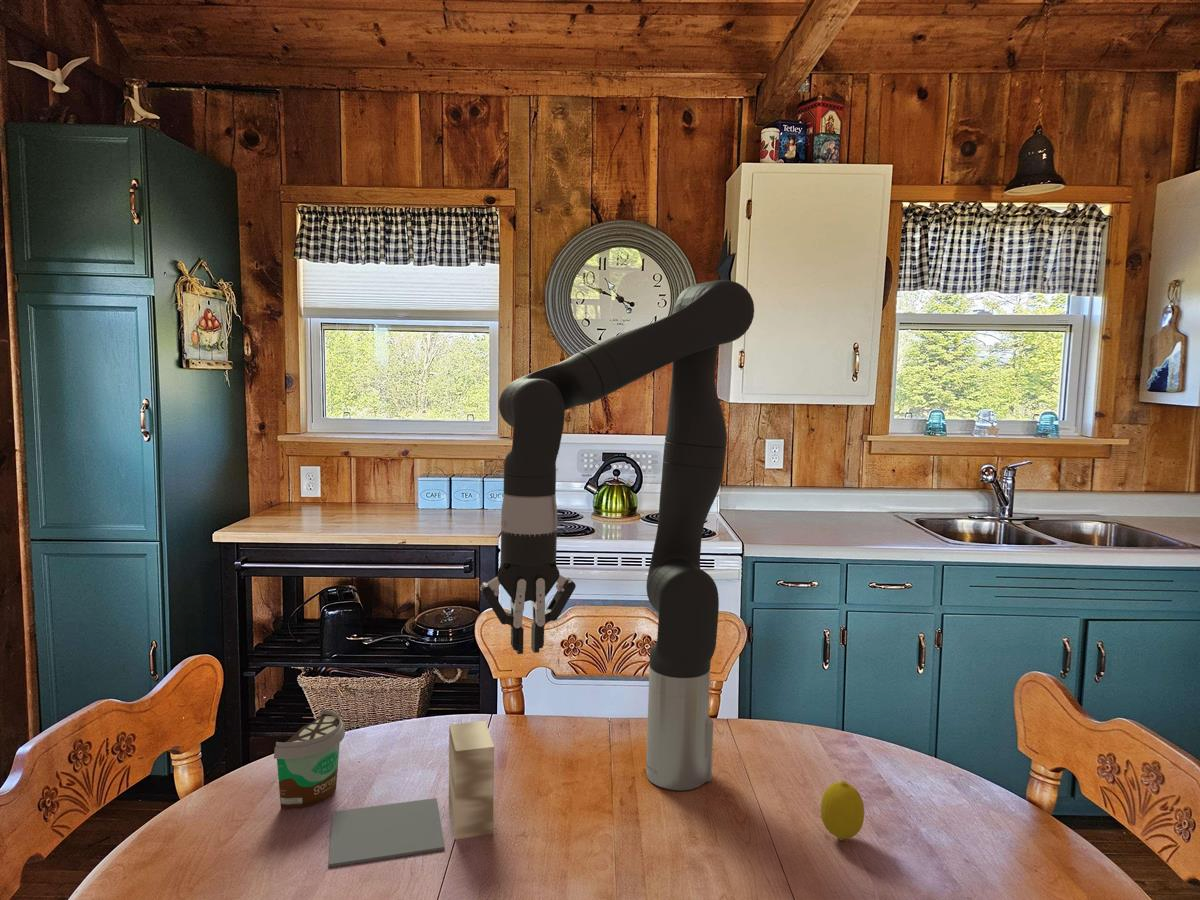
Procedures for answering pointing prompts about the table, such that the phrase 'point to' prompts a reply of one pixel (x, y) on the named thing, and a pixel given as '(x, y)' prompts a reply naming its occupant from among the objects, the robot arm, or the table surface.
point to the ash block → (471, 779)
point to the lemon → (842, 810)
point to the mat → (385, 832)
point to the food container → (310, 762)
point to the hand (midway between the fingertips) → (526, 651)
